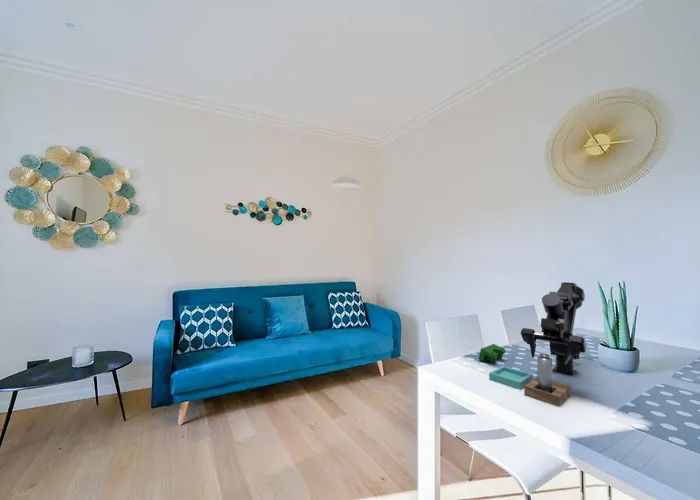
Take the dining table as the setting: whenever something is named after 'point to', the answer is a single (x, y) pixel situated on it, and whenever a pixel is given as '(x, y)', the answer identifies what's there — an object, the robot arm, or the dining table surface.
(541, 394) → the socket block
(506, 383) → the tray
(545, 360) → the grey capped bottle
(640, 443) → the dining table surface
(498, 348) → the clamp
